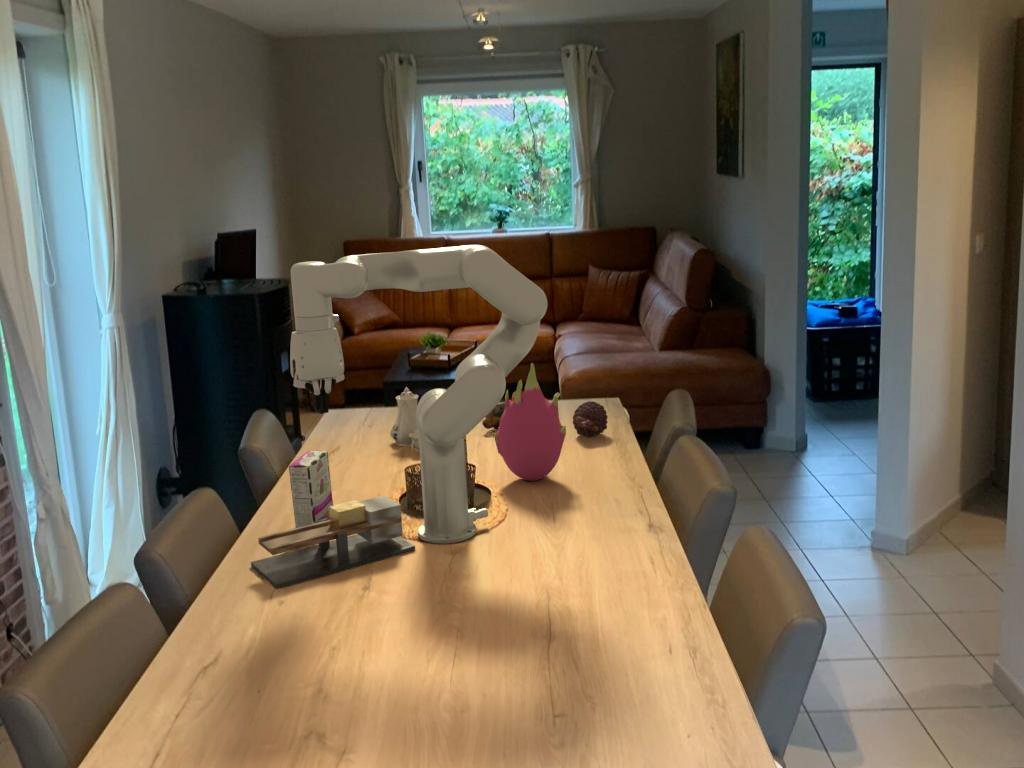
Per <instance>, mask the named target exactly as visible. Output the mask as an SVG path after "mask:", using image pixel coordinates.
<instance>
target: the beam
mask: <svg viewBox="0 0 1024 768" xmlns="http://www.w3.org/2000/svg"><path fill="white" fill-rule="evenodd" d="M358 502H360V503H362V504H364V505H365V506H366V519H367V523H364V524H360V525H356V526H352V527H348V528H344V529H340V530H338V529H336V528H335V527H333V526H332V525H331V522H330V520H327V521H323V522H319V523H315V524H311V525H306V526H302V527H298V528H296V527H294V528H291V529H287V530H283V531H279V532H275V533H271V534H266V535H263V536H258V539H257V540H258V544H259V546H261V547H262V548H263V549H265V550H266V551H267V552H268V553H269V554H271V555H272V556H276V555H280V554H284V553H288V552H291V551H295V550H299V549H303V548H307V547H310V546H314V545H318V544H319V543H322V542H326V541H333V540H336V533H339V532H342V531H346V532H347V537H349V536H352V535H356V534H358V535H360V536H361V537H363V538H364V539H366V540H367V541H369V542H370V543H372V544H373V543H377V542H381V541H385V540H388V539H392V538H396V537H403V536H404V535H403V533H404V532H403V521H402V504H401V503H398V502H396V501H395V500H393V499H391V498H390V497H387V496H386V495H380V496H376V497H373V498H368V499H364V500H361V501H360V500H359V501H358Z"/></svg>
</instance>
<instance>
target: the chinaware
mask: <svg viewBox="0 0 1024 768" xmlns="http://www.w3.org/2000/svg"><path fill="white" fill-rule="evenodd" d="M418 399H419V395H418V394H414V393H413V392H412V391H410V389H409V387H407V386H406V387H405V388H404V390H403V392H401V393H400V395H397V396H395V400H396V403H397V415H396V419H395V423H394V424H393V426H392V428H391V429H390V437H391V438H392V440H394V441H395V443H394V444H395V445H396V446H399V447H406V448H407V447H408V448H409V447H411V449H412V451H413V452H417V453H419V454H420V447H419V436H418V427H417V417H416V411H417V406H418ZM414 447H415V449H414Z"/></svg>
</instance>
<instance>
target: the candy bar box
mask: <svg viewBox="0 0 1024 768" xmlns="http://www.w3.org/2000/svg"><path fill="white" fill-rule="evenodd" d="M329 462H330V461H329V452H328V450H313V449H311V450H307V451H306V452H305V453H303V454H302V455H301V456H300V457H298V458H297V459H296V460H294V461H293V462H292V463H290V464H289V465H288V472H289V479H290V488H291V489H290V490H291V496H292V505H293V506H292V508H293V515H294V525H295V528H298V527H302V526H306V525H311V524H315V523H317V520H320V519H324V518H326V519H327V520H330V510H329V506H333V505H334V503H333V502H334V501H333V500H334V499H333V494H332V492H333V490H332V483H331V481H332V480H331V471H330V463H329Z"/></svg>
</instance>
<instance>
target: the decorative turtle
mask: <svg viewBox="0 0 1024 768" xmlns="http://www.w3.org/2000/svg"><path fill="white" fill-rule="evenodd" d="M504 410H505V402H503V403H502V402H501V403H498V404H497V406H496V407H495V408H494V409H493V410H492V411H491V412H490V413H489V414H488V415H487V416H486V417H485V418H484V419H483V420H482V421H481V422H482V425H483V427H484V428H485V429H488V430H489V429H490V430H491V429H495V430H497V429H499V424H500V419H501V416H502V414H503V412H504Z"/></svg>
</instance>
